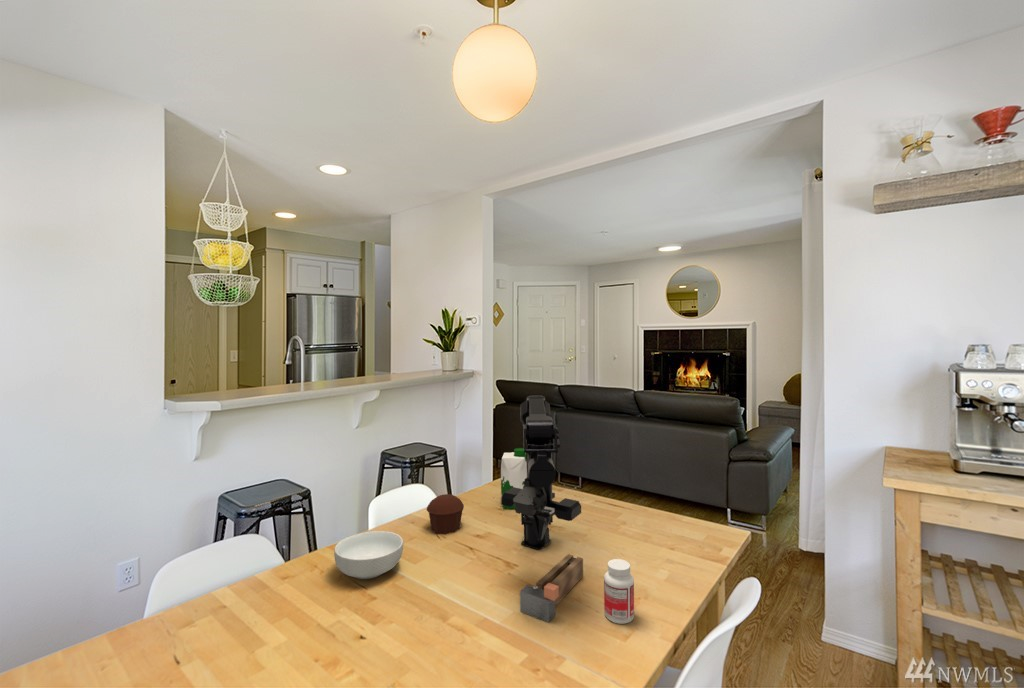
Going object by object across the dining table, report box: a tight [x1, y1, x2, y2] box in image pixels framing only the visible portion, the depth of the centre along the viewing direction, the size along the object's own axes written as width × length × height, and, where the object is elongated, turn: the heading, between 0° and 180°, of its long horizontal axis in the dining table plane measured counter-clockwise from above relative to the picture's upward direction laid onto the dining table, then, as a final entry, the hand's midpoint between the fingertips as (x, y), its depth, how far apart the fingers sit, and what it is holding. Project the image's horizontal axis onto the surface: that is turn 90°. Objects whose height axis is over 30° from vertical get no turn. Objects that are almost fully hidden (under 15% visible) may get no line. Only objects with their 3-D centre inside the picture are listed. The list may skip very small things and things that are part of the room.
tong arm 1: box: [535, 553, 576, 590], centre depth 107 cm, size 16×2×4 cm, turn 147°
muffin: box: [426, 493, 465, 535], centre depth 141 cm, size 12×11×10 cm
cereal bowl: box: [333, 530, 404, 580], centre depth 116 cm, size 17×17×7 cm
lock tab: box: [544, 583, 559, 601], centre depth 96 cm, size 2×2×2 cm
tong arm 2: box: [551, 556, 584, 607], centre depth 106 cm, size 16×2×4 cm, turn 147°
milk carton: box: [500, 447, 528, 510], centre depth 160 cm, size 9×9×20 cm
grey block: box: [519, 584, 556, 623], centre depth 98 cm, size 7×4×5 cm, turn 57°
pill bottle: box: [603, 558, 635, 625], centre depth 96 cm, size 6×6×11 cm
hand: (540, 539), depth 107 cm, fingers closed
